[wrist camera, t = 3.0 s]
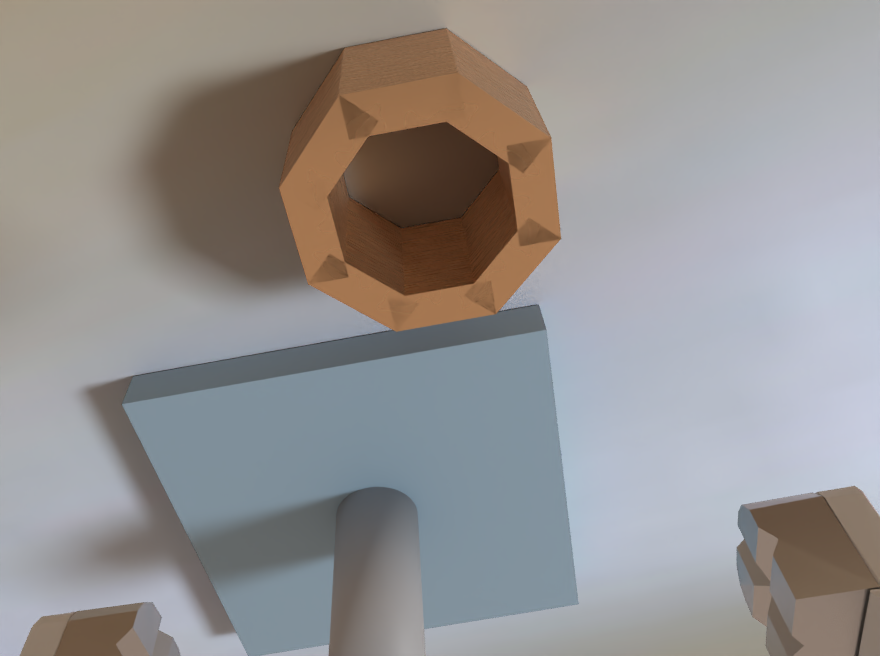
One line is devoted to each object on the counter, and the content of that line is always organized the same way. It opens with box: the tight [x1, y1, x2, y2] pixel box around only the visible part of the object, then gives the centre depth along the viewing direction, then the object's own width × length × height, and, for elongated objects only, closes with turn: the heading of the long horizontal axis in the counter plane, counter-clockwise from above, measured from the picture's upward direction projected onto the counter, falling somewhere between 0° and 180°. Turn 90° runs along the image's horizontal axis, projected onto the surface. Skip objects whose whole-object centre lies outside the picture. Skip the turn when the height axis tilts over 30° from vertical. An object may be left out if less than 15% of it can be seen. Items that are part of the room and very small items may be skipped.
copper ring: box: [279, 28, 561, 332], centre depth 23 cm, size 7×7×4 cm
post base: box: [122, 305, 579, 656], centre depth 28 cm, size 14×14×10 cm
